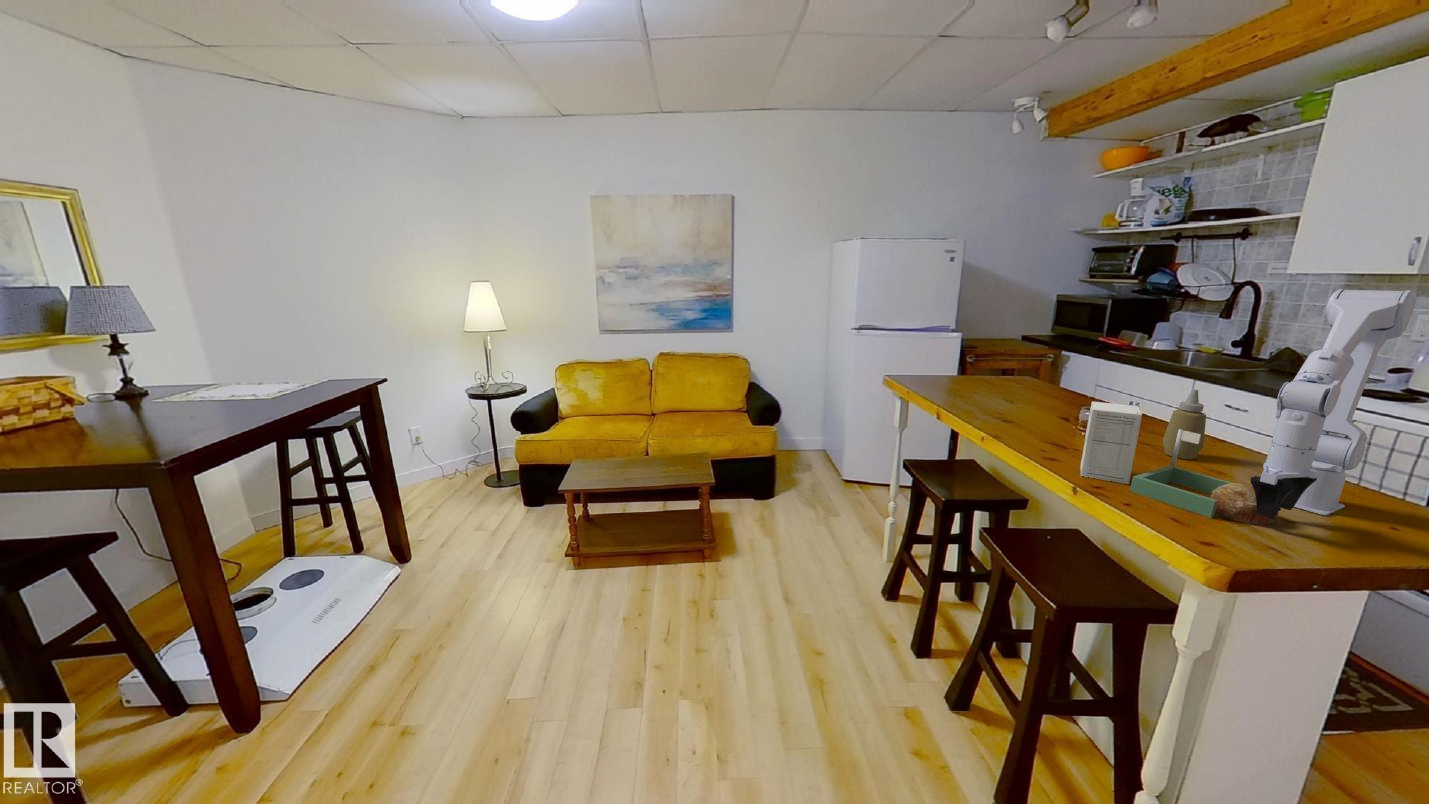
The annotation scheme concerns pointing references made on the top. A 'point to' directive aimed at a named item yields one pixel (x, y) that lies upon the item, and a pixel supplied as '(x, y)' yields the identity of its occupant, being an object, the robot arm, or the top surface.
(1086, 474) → the supplement box
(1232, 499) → the bread roll
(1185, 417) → the squeeze bottle
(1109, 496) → the top surface
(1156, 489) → the teal shallow tray
